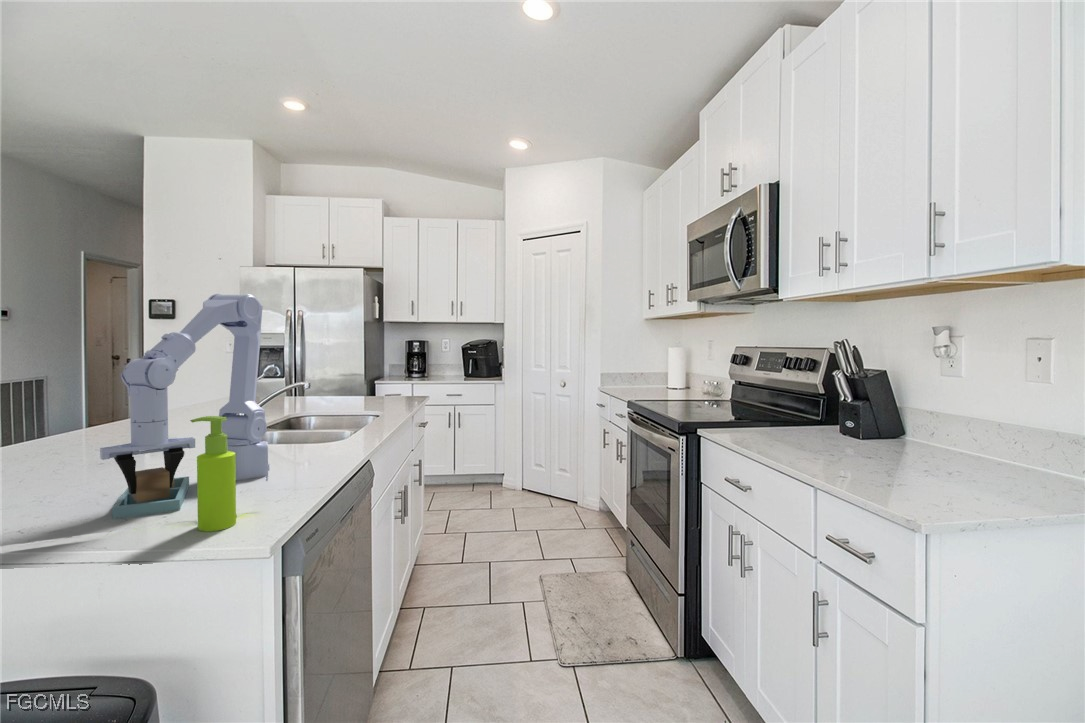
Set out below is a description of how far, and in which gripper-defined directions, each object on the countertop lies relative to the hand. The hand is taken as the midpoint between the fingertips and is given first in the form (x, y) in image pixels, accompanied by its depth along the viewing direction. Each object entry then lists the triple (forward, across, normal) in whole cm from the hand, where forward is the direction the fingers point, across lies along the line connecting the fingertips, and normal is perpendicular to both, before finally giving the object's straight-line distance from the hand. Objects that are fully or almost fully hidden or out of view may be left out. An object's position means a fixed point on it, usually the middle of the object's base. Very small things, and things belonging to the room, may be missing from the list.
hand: (150, 489), depth 98 cm
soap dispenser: (+5, -6, +16) cm, 18 cm away
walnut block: (+2, 0, 0) cm, 2 cm away
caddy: (+4, -1, -4) cm, 6 cm away
